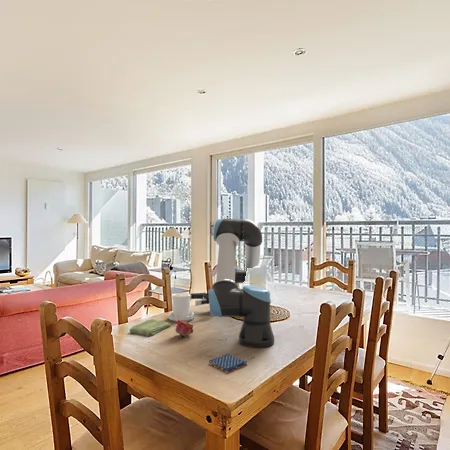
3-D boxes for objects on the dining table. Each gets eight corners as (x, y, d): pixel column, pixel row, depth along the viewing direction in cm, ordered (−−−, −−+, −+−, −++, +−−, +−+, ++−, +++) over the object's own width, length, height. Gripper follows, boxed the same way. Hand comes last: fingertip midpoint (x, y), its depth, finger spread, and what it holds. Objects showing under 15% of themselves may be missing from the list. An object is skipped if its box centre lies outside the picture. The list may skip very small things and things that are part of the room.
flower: (185, 338, 140) (192, 321, 144) (166, 332, 143) (174, 314, 147) (191, 344, 148) (198, 328, 152) (173, 338, 151) (180, 321, 155)
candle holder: (187, 320, 170) (187, 297, 170) (169, 319, 172) (169, 296, 172) (192, 315, 179) (193, 293, 179) (175, 314, 181) (175, 292, 181)
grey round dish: (187, 323, 167) (187, 318, 167) (164, 321, 171) (164, 316, 171) (197, 316, 180) (197, 311, 180) (175, 314, 184) (175, 309, 184)
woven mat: (228, 357, 126) (228, 352, 126) (248, 366, 118) (248, 360, 118) (206, 365, 119) (207, 359, 119) (227, 375, 111) (227, 369, 111)
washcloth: (172, 326, 163) (172, 320, 163) (150, 338, 147) (150, 330, 147) (150, 323, 169) (150, 317, 169) (127, 333, 152) (127, 326, 152)
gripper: (232, 305, 183) (202, 312, 169) (205, 298, 202) (175, 303, 188) (232, 292, 183) (202, 297, 169) (205, 285, 202) (175, 290, 188)
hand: (188, 300), depth 179 cm, fingers open, 13 cm apart
